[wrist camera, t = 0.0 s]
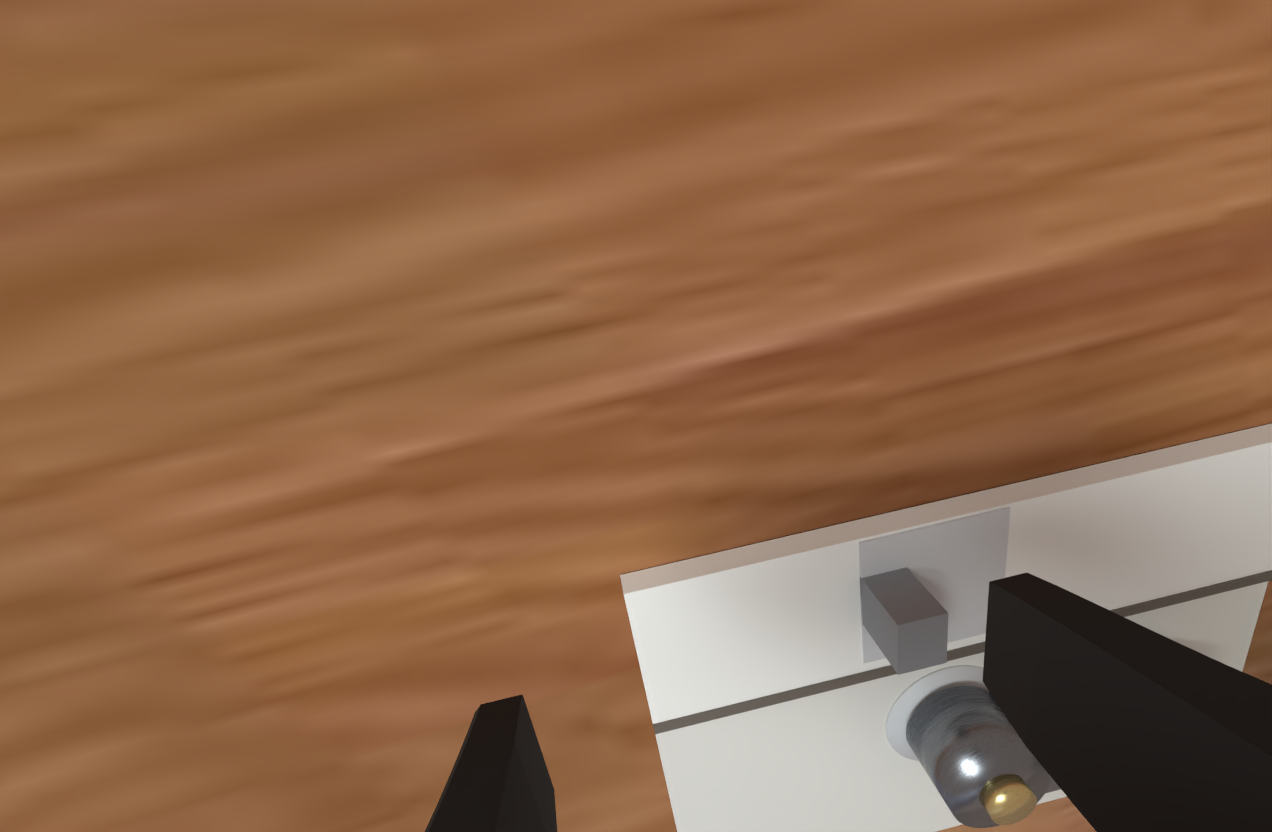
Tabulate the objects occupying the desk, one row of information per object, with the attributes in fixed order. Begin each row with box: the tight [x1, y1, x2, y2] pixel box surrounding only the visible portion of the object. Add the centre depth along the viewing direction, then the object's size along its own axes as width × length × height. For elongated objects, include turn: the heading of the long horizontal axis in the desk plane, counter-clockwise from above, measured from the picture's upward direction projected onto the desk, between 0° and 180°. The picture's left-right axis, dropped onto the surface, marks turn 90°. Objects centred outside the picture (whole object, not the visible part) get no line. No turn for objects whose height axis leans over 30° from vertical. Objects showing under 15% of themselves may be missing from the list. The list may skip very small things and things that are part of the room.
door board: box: [620, 424, 1272, 832], centre depth 23 cm, size 16×24×3 cm, turn 100°
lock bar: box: [906, 686, 1061, 828], centre depth 22 cm, size 11×4×3 cm, turn 100°
